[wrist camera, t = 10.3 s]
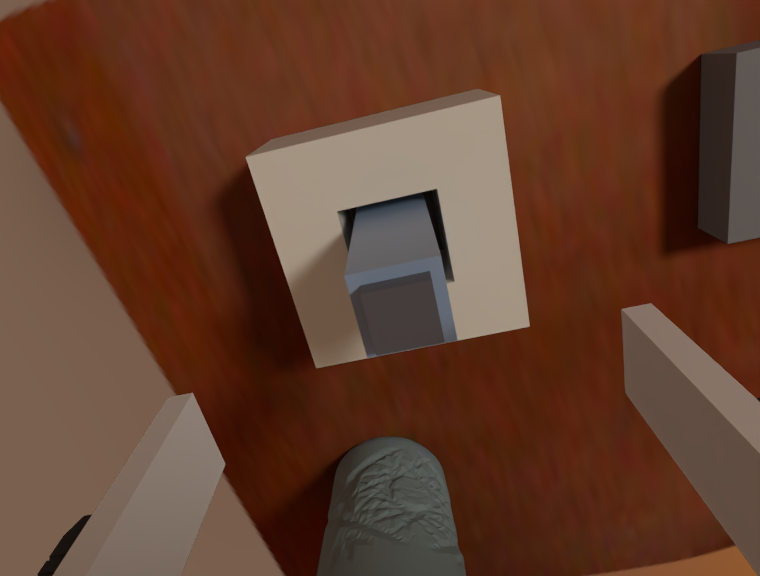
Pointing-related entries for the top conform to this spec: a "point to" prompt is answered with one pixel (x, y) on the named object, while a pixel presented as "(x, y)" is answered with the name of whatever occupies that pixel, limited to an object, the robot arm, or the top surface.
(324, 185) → the port
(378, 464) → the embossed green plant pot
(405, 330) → the plug
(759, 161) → the grey square socket block
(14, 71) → the top surface
